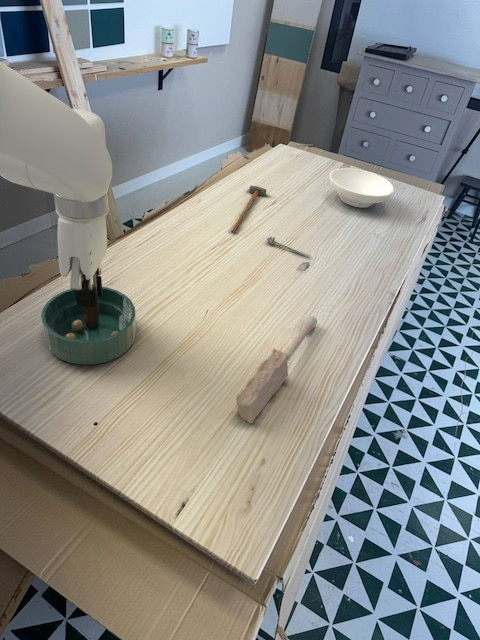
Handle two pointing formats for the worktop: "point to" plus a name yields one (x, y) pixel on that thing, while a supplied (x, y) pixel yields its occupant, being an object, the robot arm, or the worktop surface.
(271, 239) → the screw
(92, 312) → the stick
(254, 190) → the sledgehammer
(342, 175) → the bowl
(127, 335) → the mixing bowl
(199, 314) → the worktop surface
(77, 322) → the bead
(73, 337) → the bead
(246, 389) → the tan handled block
